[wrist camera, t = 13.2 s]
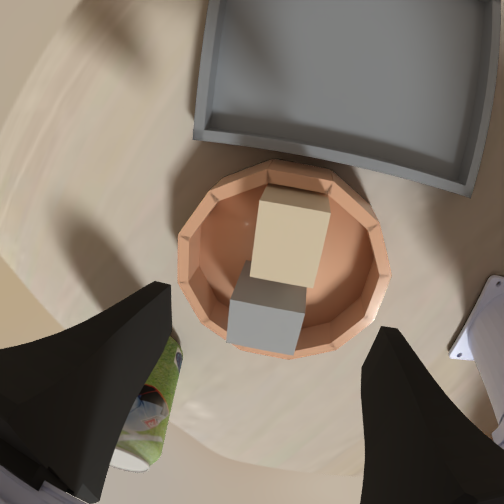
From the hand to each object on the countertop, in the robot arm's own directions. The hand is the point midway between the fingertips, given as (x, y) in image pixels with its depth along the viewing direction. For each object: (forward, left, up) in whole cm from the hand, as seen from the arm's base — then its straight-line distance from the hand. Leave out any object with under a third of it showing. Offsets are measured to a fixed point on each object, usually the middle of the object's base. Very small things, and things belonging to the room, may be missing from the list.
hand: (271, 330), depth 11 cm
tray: (-2, -11, -10) cm, 15 cm away
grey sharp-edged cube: (0, +5, -10) cm, 11 cm away
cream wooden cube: (0, 0, -10) cm, 10 cm away
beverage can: (+9, +14, -11) cm, 20 cm away
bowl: (0, +3, -10) cm, 11 cm away
